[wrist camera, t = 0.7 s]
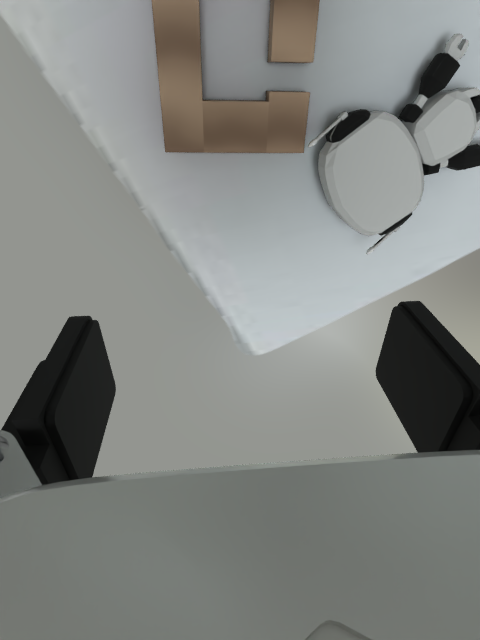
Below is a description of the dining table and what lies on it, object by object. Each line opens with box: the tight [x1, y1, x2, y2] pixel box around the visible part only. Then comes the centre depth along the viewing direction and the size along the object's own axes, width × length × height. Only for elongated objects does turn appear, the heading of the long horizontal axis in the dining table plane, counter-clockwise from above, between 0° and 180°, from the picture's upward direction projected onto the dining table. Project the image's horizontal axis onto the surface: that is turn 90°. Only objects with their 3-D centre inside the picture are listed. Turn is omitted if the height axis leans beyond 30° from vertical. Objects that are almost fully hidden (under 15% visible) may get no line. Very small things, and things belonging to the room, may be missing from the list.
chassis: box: [152, 0, 320, 153], centre depth 28 cm, size 16×12×2 cm
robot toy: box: [308, 34, 480, 254], centre depth 33 cm, size 12×4×15 cm
